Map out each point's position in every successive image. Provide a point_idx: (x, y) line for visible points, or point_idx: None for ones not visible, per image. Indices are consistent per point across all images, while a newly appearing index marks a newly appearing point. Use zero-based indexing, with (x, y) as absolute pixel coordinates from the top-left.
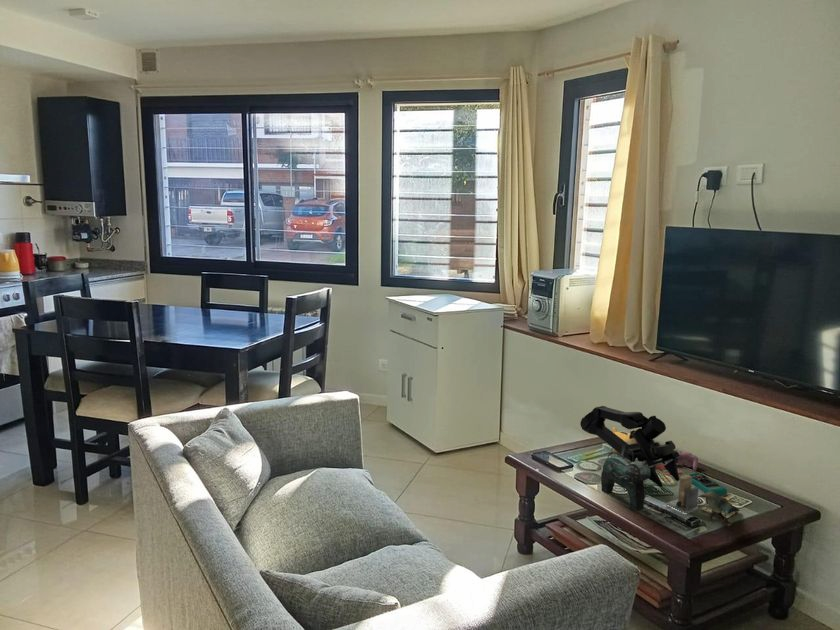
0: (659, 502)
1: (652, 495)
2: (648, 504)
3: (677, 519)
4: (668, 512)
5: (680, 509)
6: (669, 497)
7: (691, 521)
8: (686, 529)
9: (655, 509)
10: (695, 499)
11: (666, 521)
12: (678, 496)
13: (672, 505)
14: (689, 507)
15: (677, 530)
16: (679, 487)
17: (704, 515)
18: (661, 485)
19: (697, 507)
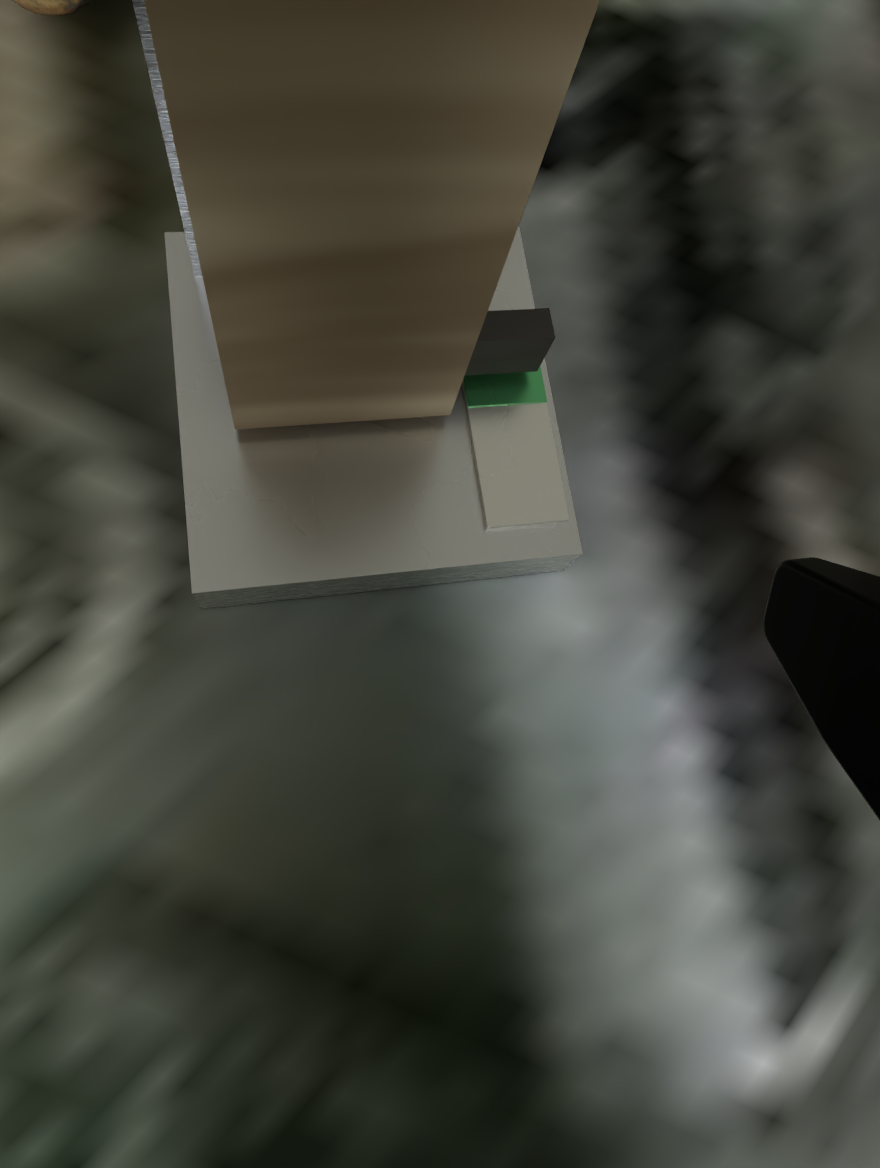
0: (571, 731)
1: (491, 1030)
2: (794, 753)
3: (689, 229)
4: (670, 416)
5: (530, 295)
6: (243, 813)
7: None
8: (755, 36)
9: None
10: None
11: (860, 263)
12: (481, 327)
13: (553, 442)
14: None
15: (869, 73)
16: (537, 158)
17: None
18: (830, 574)
19: (179, 243)
